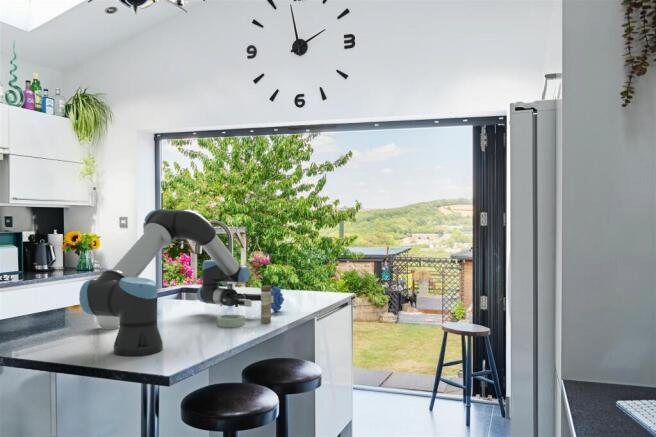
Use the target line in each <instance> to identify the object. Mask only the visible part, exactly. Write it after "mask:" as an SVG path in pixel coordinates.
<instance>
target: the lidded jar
mask: <svg viewBox="0 0 656 437" xmlns="http://www.w3.org/2000/svg"><path fill="white" fill-rule="evenodd" d="M95 320H96V324H98V326H99V327H100V328H101V329H102V330H116V329H119V328H120V317H113V316H95Z"/></svg>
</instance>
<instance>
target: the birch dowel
mask: <svg viewBox="0 0 656 437" xmlns="http://www.w3.org/2000/svg"><path fill="white" fill-rule="evenodd" d="M271 290H272V286H271V285H261V286H260V292H261V293H260V294H261V301H260V302H261V303H260V323H261V324H270V323H272V309H271Z"/></svg>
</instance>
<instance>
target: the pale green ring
mask: <svg viewBox="0 0 656 437" xmlns="http://www.w3.org/2000/svg"><path fill="white" fill-rule="evenodd" d="M245 324H246V316H245V315H242V314H223V315H219V316H217V317H216V326H218V327H221V328H237V327H242V326H245Z"/></svg>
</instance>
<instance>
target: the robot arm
mask: <svg viewBox="0 0 656 437" xmlns="http://www.w3.org/2000/svg"><path fill="white" fill-rule="evenodd" d="M142 226H143V234H142V235H141V236H140V237H139V238H138V240H137V241H136V242H135V243H134V244H133V245H132V247H131V248H130V249H129V250H127V252H126V253H125V254H124V255H123V256H122V258H121V259H120V260H119V261H118V262H117V263H116V264H115V265H114V266H113V267H112V269H106V270H104V272H102V273H101V275H100V276H98V278H96V279H93V278H92V279H88V280H87V281H84V283H83V284H82V286H81V287H80V290H79V295H78V296H79V299H78V300H79V301H78V302H79V304H80V307H81V309H82V311H84V312H85V313H86V314H88V315H92V316H95V317H96V316H113V317H120V326H119V328H118V332H117V334H116V337H115V341H114V344H113V353H114V354H115V355H118V356H128V357H134V356H136V357H137V356H146V355H152V354H156V353H158V352H159V353H160V352H161V351H163V346H164V343H163V340H162V337H161V333H160V331H159V330H160V329H159V327H158V296H159V293H158V285H157V283H156V282H155V281H154V280H152V279H149V278H146V277H140V276H141V274H142V273H143V272H144V271H145V269H147V266H148V265H149V264H150V263H152V261H153V260H154V258H155V257H156V256H157V255H158V254H159V252H161V250H162V249H163V248H165V249H166V248H168V247H169V246H171V244H172V243H173V242H174V240H187V241H193V242H194V243H195V244H196V245H197V246H199V247H202V249H203V250H204V252H206V253H207V255H208V256H209V257H210V258H211V259H206V260H204V261H203V262H202V269H201V272H202V275H201V276H202V279H201V280H202V282H201V283H202V284H201V285H200V287H199V288H198V290H197V292H196V298H197V300H198V301H199V302H201V303H205V304H211V305H219V306H220V307H223V306H225V307H233V306H234V307H235V308H239V306H240V307H246V308H247V307H249V308H251V307H253V306H252V302H256V301H257V302H259V301H260V302H261V293H245V292H244V293H238V292H237V291H236V290H235V289H234V288H227V287H220V283H235V284H244V283H247V282H248V281H249V280H250V275H251V270H250V268H249V267H248V266H247V265H240V263H239V262H238V261H237V259H236V258H235V257H234V256H233V254H232V253H231V252H230V250H229V249H228V248H227V247H226V245H225V244H224V242H223V241H222V240H221V239H220V237H219V236H218V235H217V230H216V228H215V227H214V225H213V224H212V223H211V222H210V221H209V220H208V219H207V218H206V217H204V215H201V214H200V213H199V212H197V211H194V210H192V209H173V208H172V209H166V208H165V209H164V208H160V209H154V210H152V211H149V213H147V215H146V216H145V217H144V222H143V224H142ZM148 267H149V266H148ZM271 303H273V296H271Z"/></svg>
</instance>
